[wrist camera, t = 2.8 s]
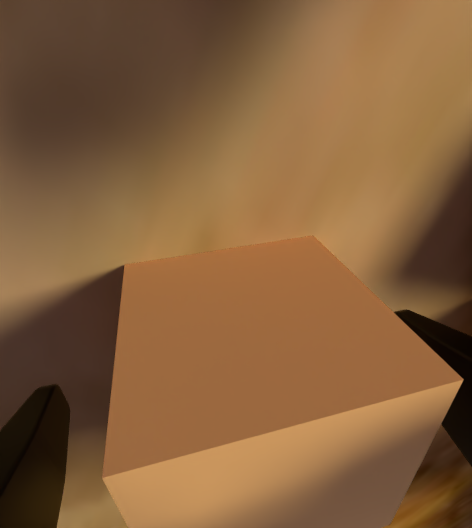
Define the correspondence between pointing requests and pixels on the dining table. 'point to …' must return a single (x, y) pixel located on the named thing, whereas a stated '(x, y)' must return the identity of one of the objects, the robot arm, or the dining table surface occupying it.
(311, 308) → the terracotta cube
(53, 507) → the robot arm
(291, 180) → the dining table surface
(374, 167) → the dining table surface
